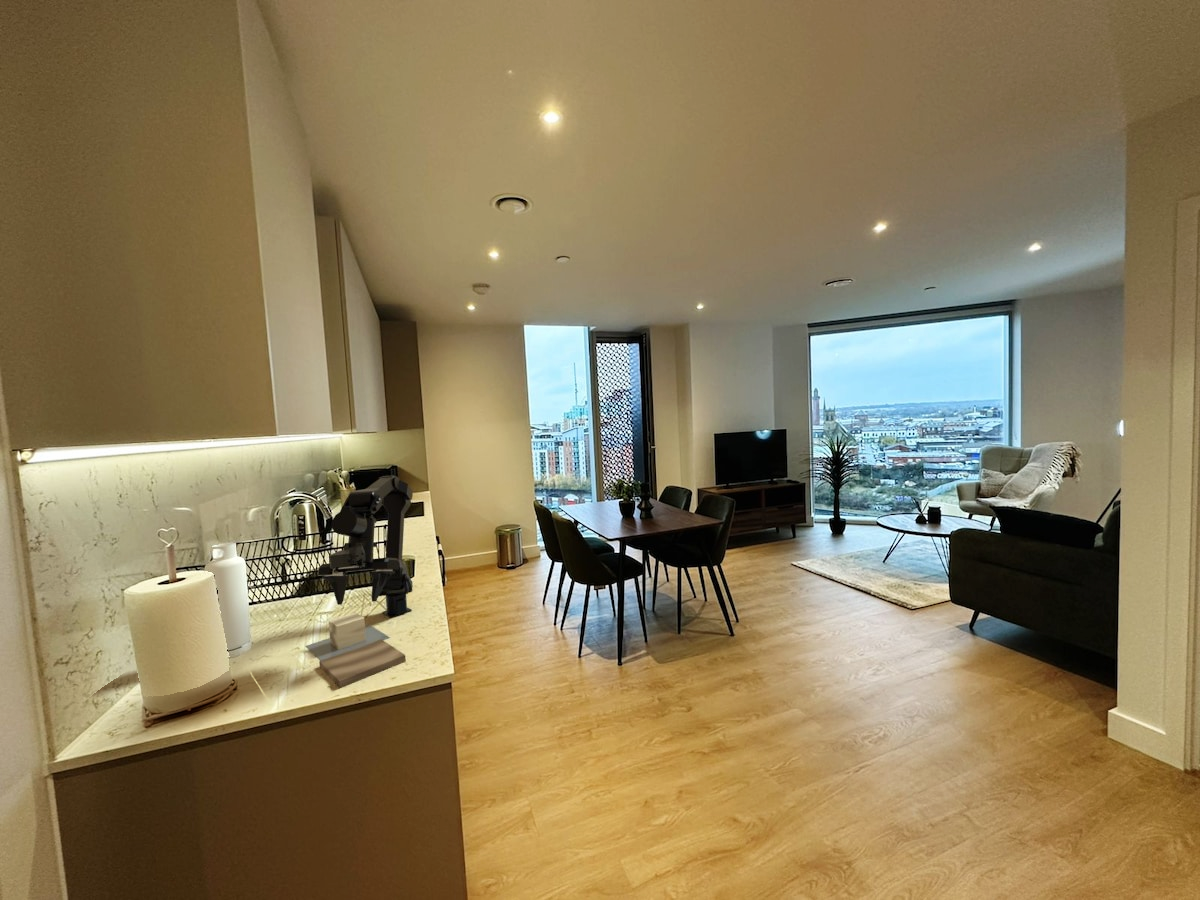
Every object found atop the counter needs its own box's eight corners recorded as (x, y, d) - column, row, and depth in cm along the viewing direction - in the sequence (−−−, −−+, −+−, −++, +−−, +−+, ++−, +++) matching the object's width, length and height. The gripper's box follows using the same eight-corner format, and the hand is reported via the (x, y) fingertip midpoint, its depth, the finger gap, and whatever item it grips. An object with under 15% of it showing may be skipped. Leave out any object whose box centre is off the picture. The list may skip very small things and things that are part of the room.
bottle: (259, 644, 118) (252, 540, 117) (234, 659, 110) (226, 547, 109) (229, 645, 118) (221, 541, 117) (202, 660, 110) (193, 549, 109)
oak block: (330, 642, 116) (328, 620, 116) (356, 634, 120) (355, 612, 120) (338, 650, 111) (337, 626, 111) (365, 640, 116) (364, 617, 116)
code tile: (305, 646, 115) (304, 645, 115) (369, 625, 126) (369, 624, 126) (321, 663, 105) (321, 662, 105) (390, 638, 117) (390, 637, 117)
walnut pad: (319, 667, 103) (319, 661, 103) (381, 644, 114) (381, 639, 113) (340, 688, 94) (339, 681, 94) (405, 661, 104) (405, 655, 104)
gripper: (303, 540, 107) (296, 608, 102) (374, 532, 104) (370, 601, 100) (336, 543, 117) (331, 605, 113) (402, 536, 115) (399, 599, 110)
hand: (356, 603), depth 109 cm, fingers open, 9 cm apart
